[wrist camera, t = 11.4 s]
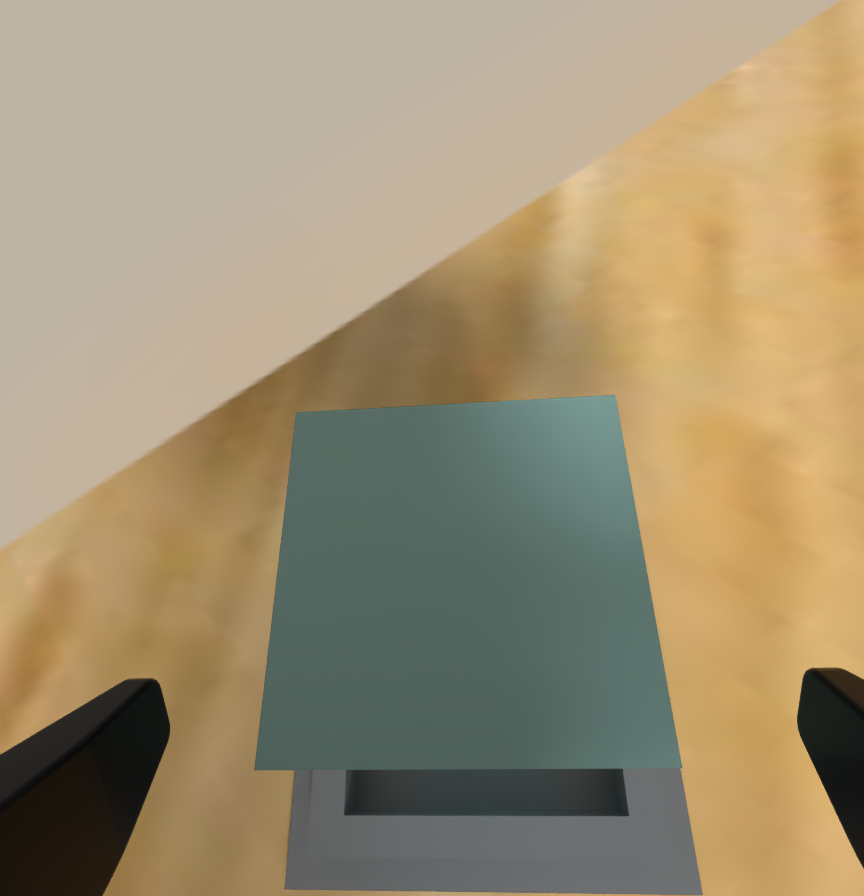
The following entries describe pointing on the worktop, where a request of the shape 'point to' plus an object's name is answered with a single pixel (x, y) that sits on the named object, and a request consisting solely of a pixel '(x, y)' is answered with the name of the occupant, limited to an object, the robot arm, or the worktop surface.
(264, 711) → the teal block
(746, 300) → the worktop surface
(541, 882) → the socket holder
